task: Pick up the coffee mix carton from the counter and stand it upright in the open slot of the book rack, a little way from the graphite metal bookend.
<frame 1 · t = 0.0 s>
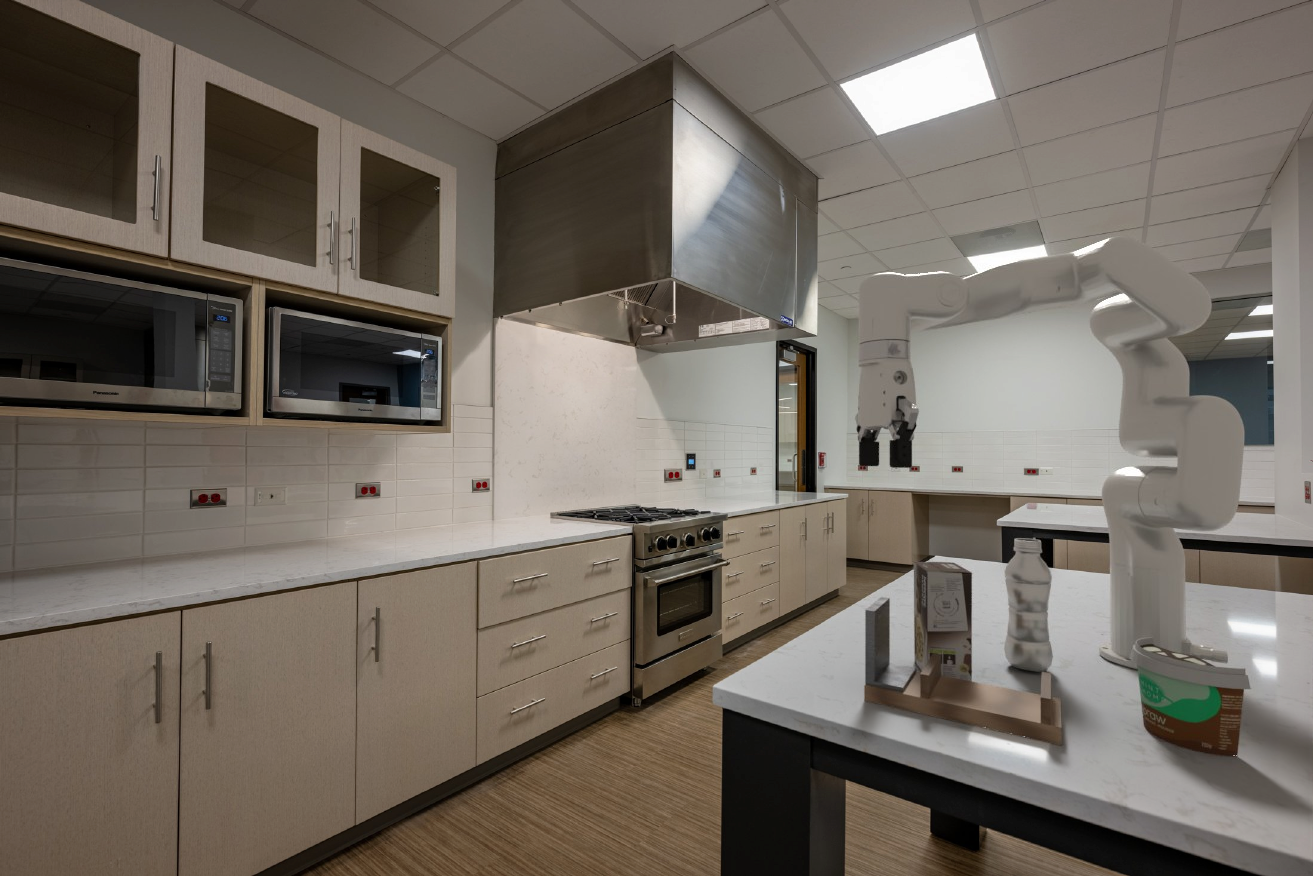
hand: (884, 466, 93), 31 cm above the table, tool pointing down, fingers open, 9 cm apart
food container: (1172, 739, 71), on the table
book rack: (960, 707, 79), on the table
coffee box: (941, 673, 92), on the table
plastic bottle: (1028, 670, 94), on the table
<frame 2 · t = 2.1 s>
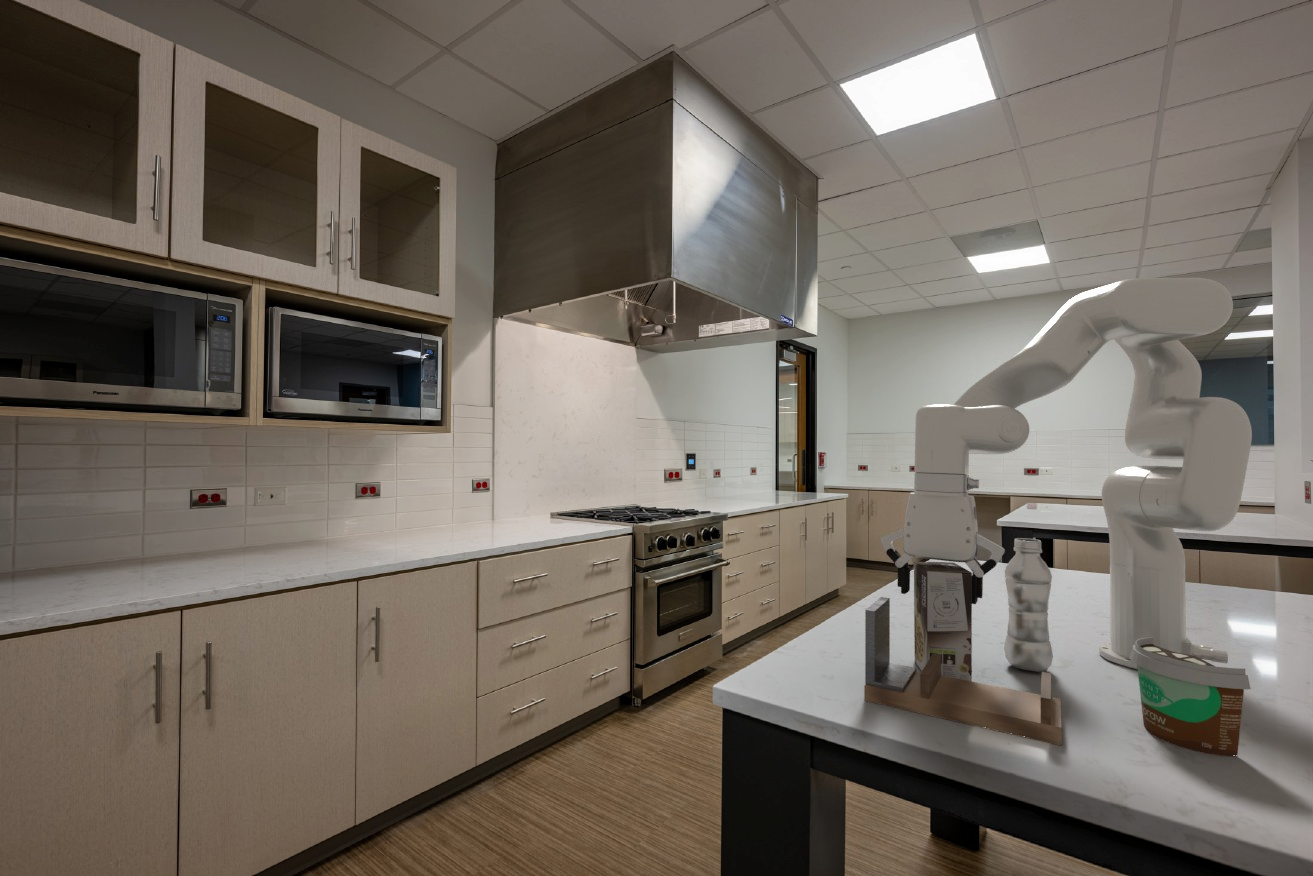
hand: (938, 597, 93), 11 cm above the table, tool pointing down, fingers open, 9 cm apart
nothing on the table moved.
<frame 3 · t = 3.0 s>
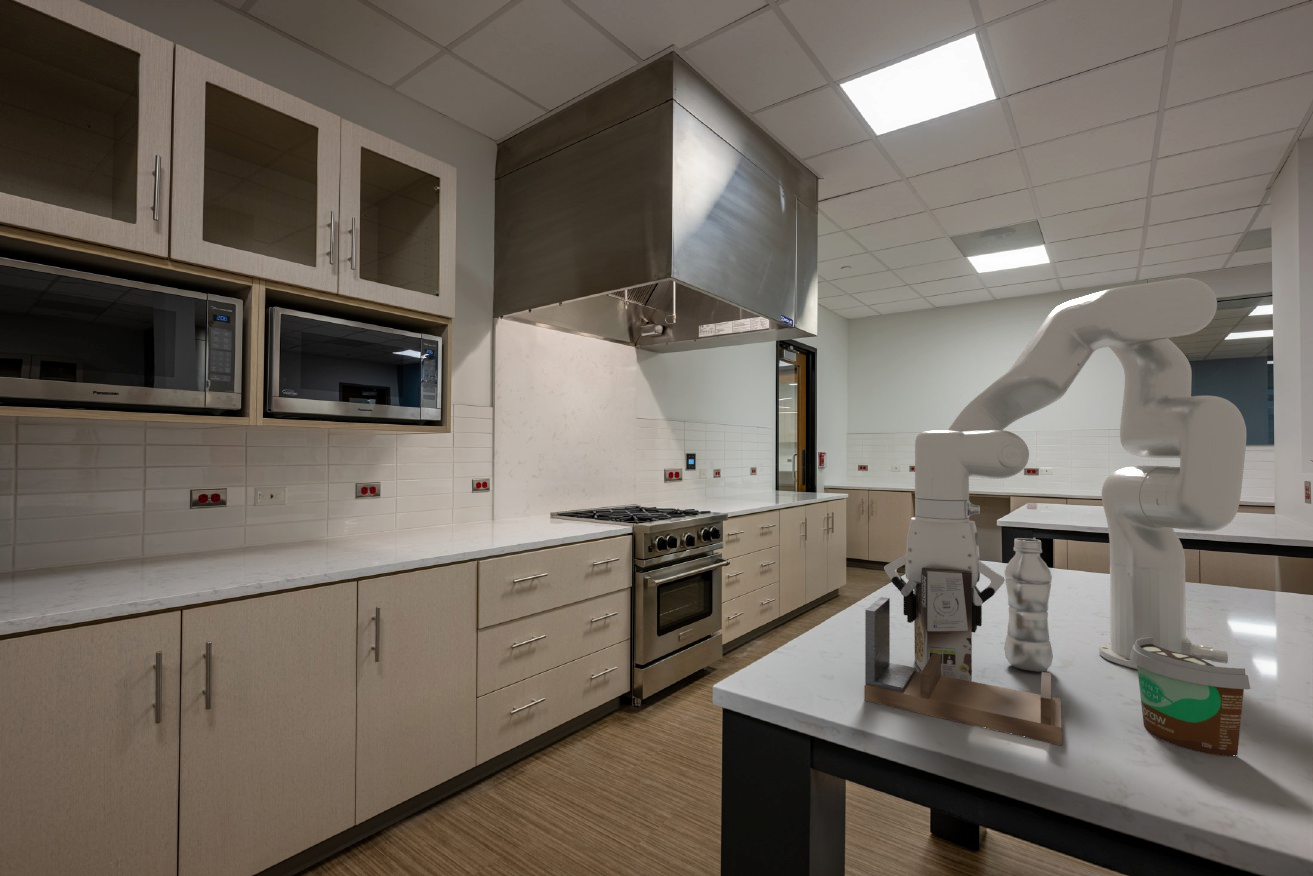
hand: (941, 624, 93), 7 cm above the table, tool pointing down, fingers closed on coffee box, 8 cm apart
coffee box: (941, 673, 92), on the table, touching gripper
everything else where it was.
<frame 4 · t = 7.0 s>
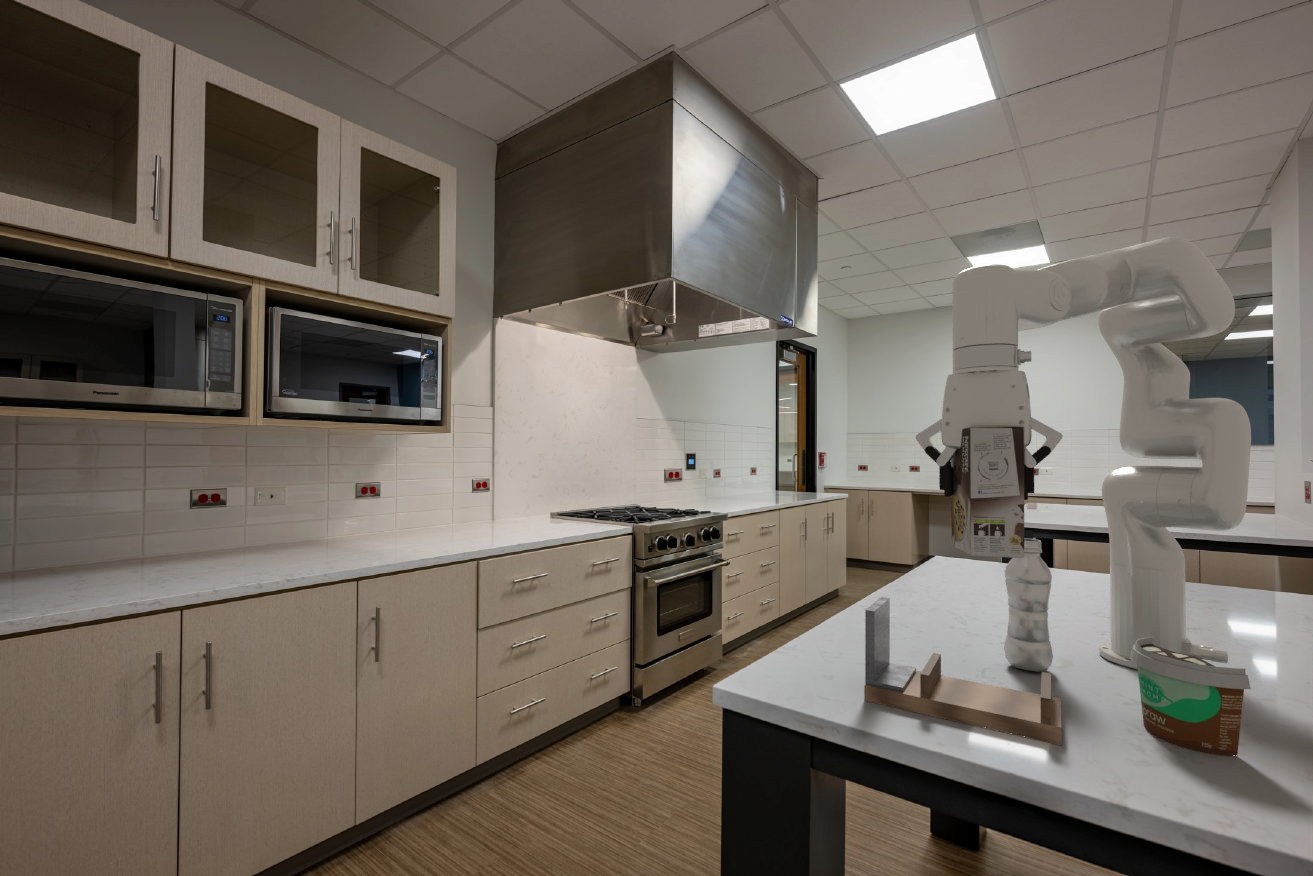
hand: (985, 497, 78), 28 cm above the table, tool pointing down, fingers closed on coffee box, 8 cm apart
coffee box: (986, 553, 78), point 20 cm above the table, touching gripper
everything else where it was.
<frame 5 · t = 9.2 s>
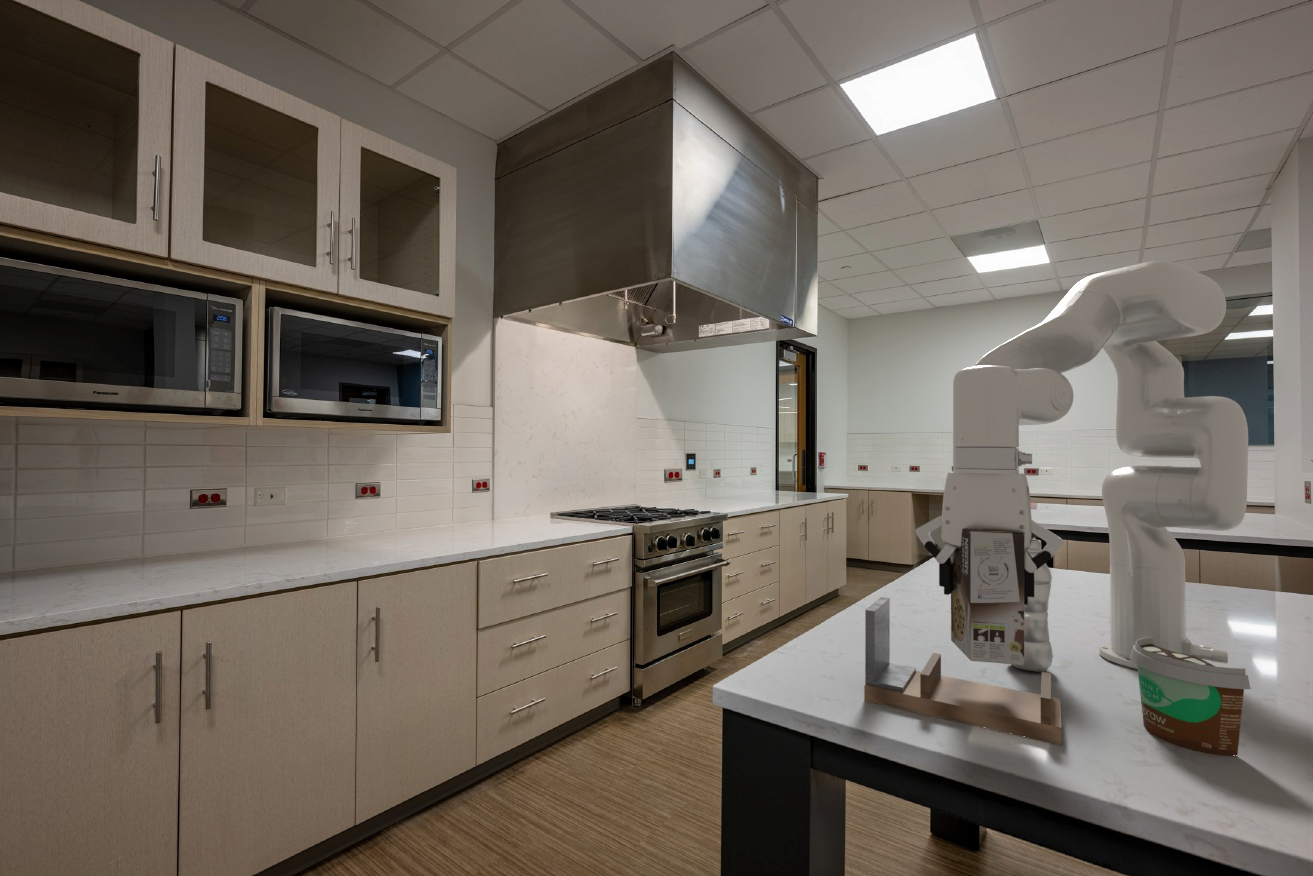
hand: (985, 596, 78), 15 cm above the table, tool pointing down, fingers closed on coffee box, 8 cm apart
coffee box: (985, 654, 78), point 8 cm above the table, touching gripper
everything else where it was.
when the fingers open (10 cm above the table, at t = 11.3 s): coffee box stays where it is, resting on book rack.
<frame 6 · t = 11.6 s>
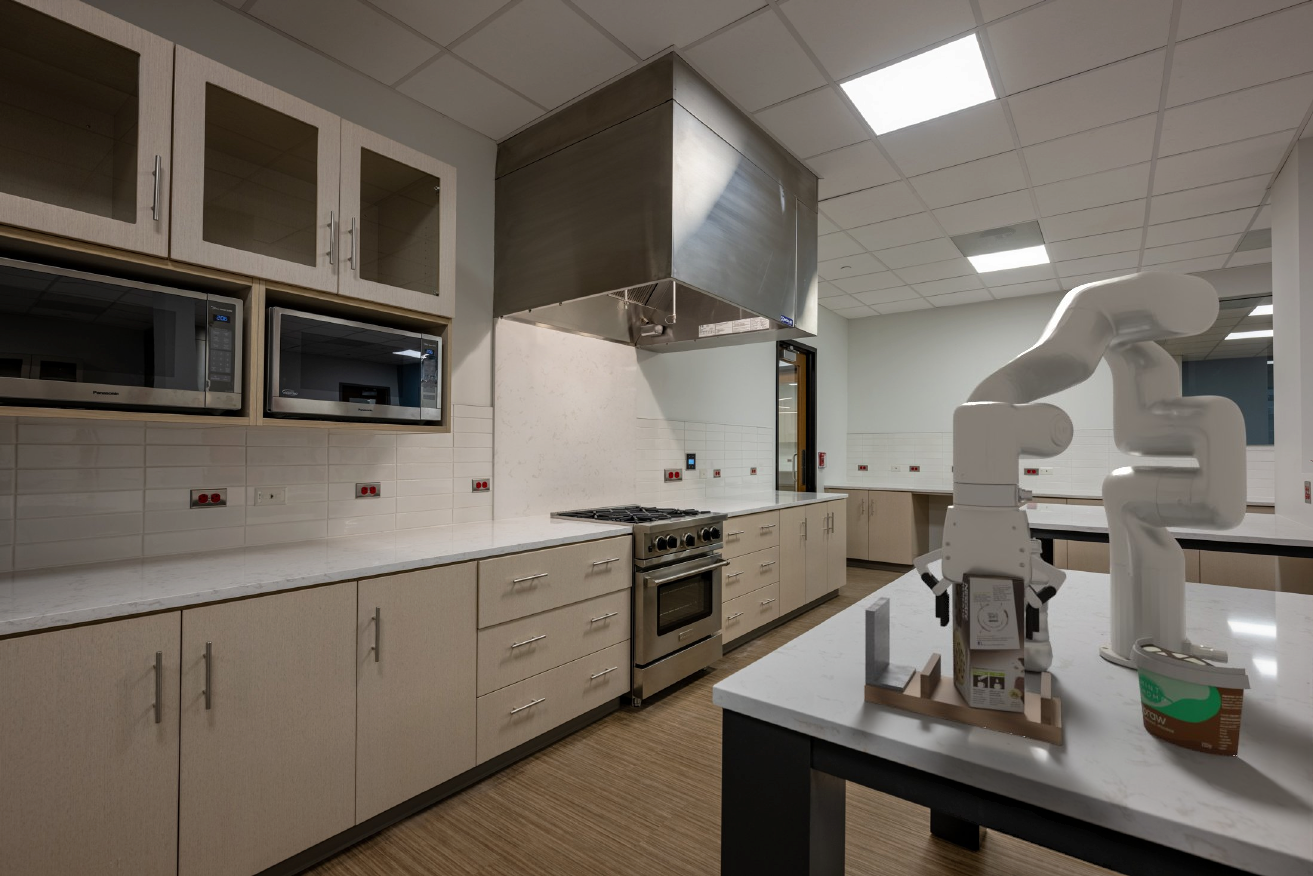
hand: (985, 630, 78), 10 cm above the table, tool pointing down, fingers open, 9 cm apart
coffee box: (986, 698, 78), point 2 cm above the table, touching book rack
everything else where it was.
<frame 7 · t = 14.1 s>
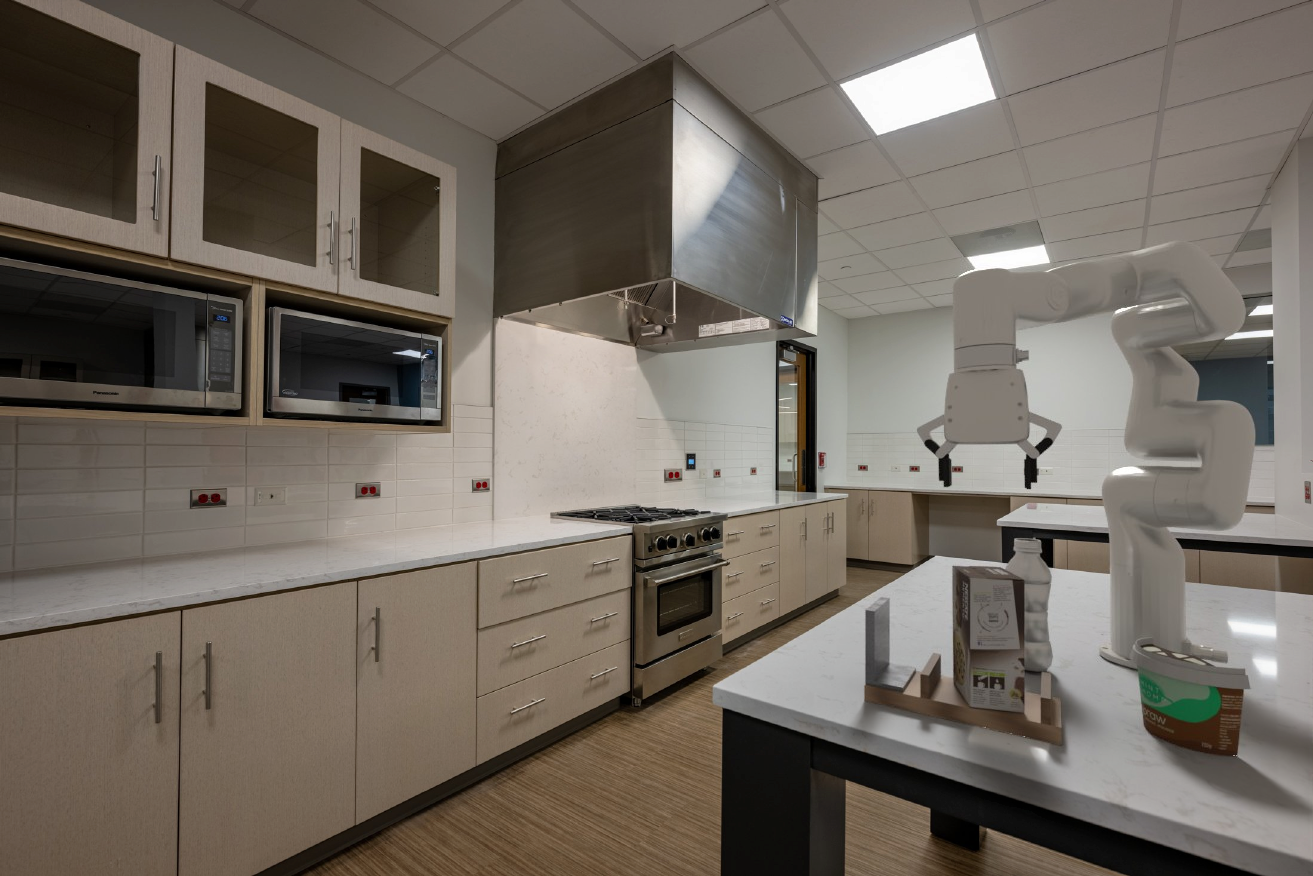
hand: (986, 487, 82), 29 cm above the table, tool pointing down, fingers open, 9 cm apart
nothing on the table moved.
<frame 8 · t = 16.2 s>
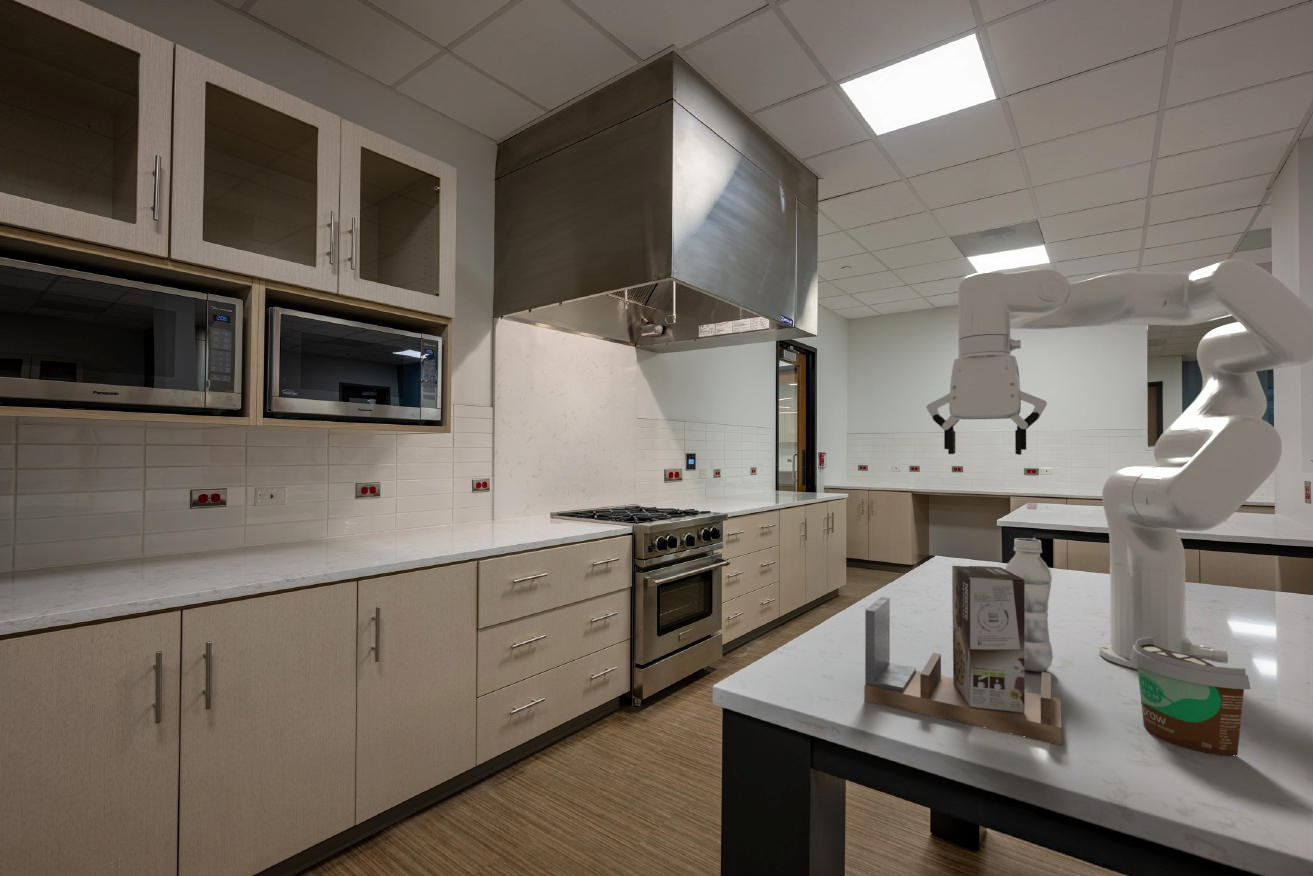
hand: (984, 454, 99), 33 cm above the table, tool pointing down, fingers open, 9 cm apart
nothing on the table moved.
at the end: coffee box inside the target area on the book rack (0.2 cm from its centre), point 1.8 cm above the book rack's base; coffee box tilted 0°; the gripper is holding nothing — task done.
